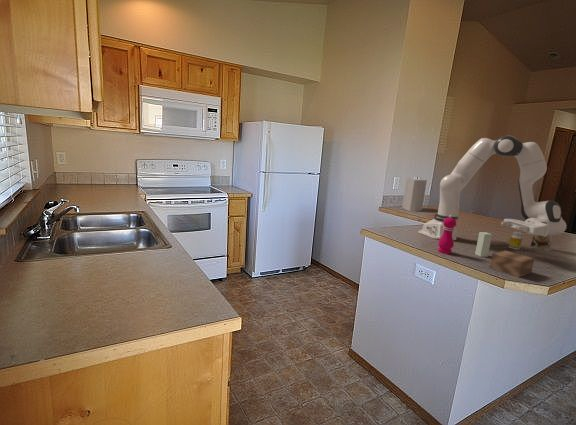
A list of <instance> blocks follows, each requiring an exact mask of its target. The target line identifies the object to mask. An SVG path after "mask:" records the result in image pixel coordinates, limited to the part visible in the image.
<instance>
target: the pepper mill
mask: <svg viewBox="0 0 576 425" xmlns="http://www.w3.org/2000/svg"><path fill="white" fill-rule="evenodd" d="M452 217H453V216H452V215H449V218H445V219H444V221H443V224H444V228H443V229H444V232H443V235H442V237H441V238H440V239H438V249H437V252H439V253H441V254H444V255H451V254H452V248H453V247H454V244H455V243H454V240H453V238H452V232H453V231H454V226H456V227H457V225H456V220H455V219H453V218H452Z"/></svg>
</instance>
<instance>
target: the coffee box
mask: <svg viewBox="0 0 576 425" xmlns="http://www.w3.org/2000/svg"><path fill="white" fill-rule="evenodd" d="M554 237H555V235H547V236H546V237H545V236H540V235H532V238H531V239H532V240H531V242H530V243H531V244H530V249H535V250H539V251H543V252H549V253H550V252H551V248H552V243H553V241H554V240H553V239H554Z"/></svg>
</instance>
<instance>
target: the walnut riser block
mask: <svg viewBox="0 0 576 425" xmlns="http://www.w3.org/2000/svg"><path fill="white" fill-rule="evenodd" d="M534 262H535V258H533V257H530V256H526V255H523V254H521V253H520V254H519V253H516V252H513V251H508V250H502V251H497V252H493V253H492V255H491V259H490V264H489V268H490V269H491V270H494V271H495V270H496V271H497V272H501V271H502V272H501V273H504V272H505V274H507V273H508V274H507V275H510V274H511V276H513V275H514V276H513V277H516V276H517V278H521V276H522V277H525V276H527V274H528V275H531V274H532V271H533V269H534V268H533V267H534V264H535V263H534ZM524 275H525V276H524Z"/></svg>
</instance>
